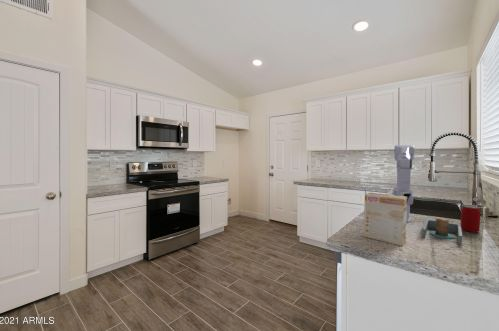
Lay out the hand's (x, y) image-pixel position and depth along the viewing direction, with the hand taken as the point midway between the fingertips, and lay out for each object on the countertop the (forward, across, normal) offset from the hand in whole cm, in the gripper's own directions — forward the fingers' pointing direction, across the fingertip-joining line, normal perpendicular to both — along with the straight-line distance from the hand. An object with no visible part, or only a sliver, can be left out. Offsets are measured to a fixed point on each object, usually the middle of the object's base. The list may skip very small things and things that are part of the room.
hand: (402, 208), depth 118 cm
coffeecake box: (+10, +26, -3) cm, 28 cm away
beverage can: (+10, -14, +26) cm, 31 cm away
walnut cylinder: (+9, +3, +16) cm, 19 cm away
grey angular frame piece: (+9, +3, +16) cm, 19 cm away
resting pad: (+9, +3, +16) cm, 19 cm away
